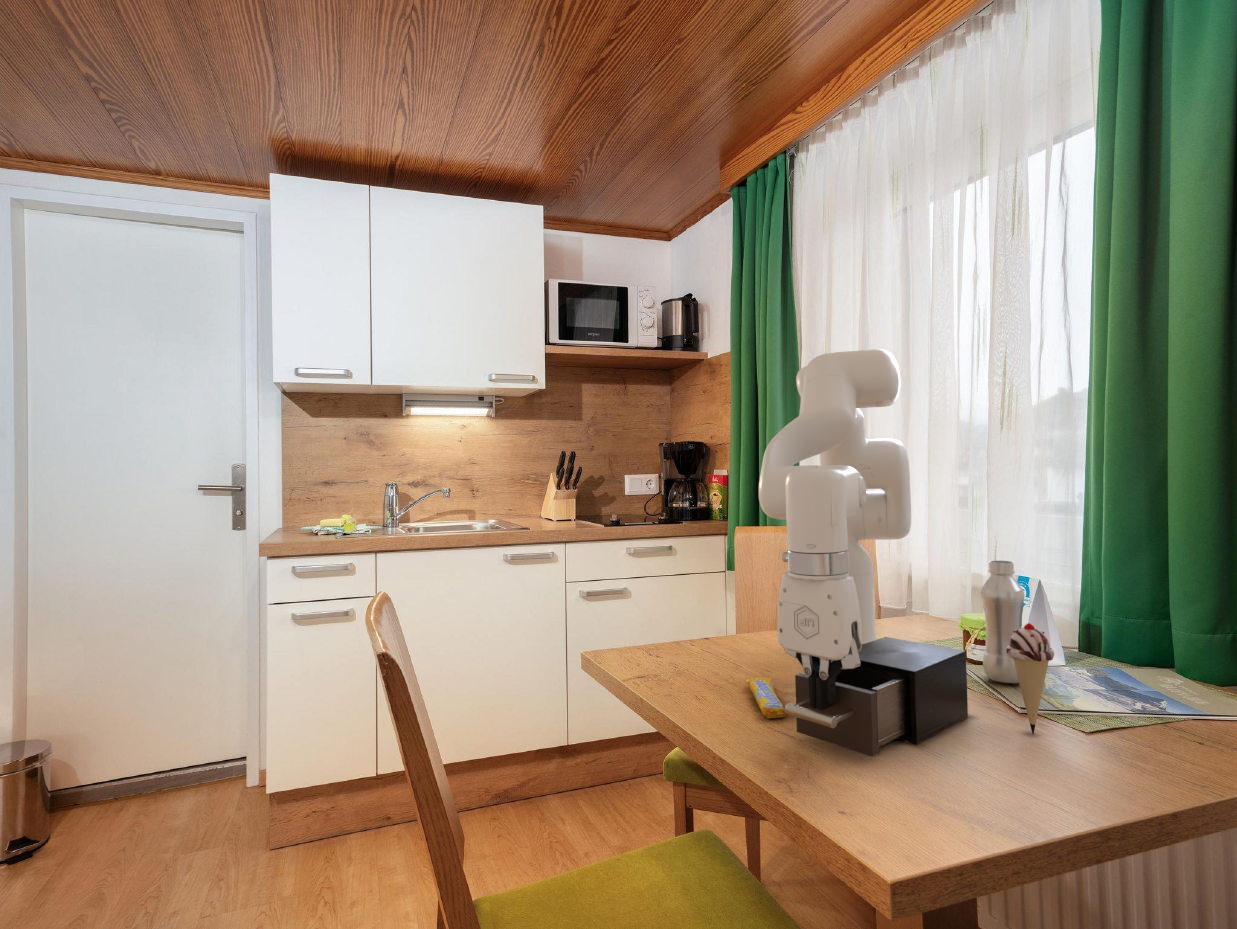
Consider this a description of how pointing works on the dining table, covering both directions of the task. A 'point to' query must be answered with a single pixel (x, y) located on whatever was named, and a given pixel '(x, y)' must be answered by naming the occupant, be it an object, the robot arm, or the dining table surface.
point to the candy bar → (766, 697)
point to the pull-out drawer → (857, 710)
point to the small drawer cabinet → (924, 682)
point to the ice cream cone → (1030, 666)
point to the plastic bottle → (1001, 620)
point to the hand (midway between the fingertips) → (822, 706)
